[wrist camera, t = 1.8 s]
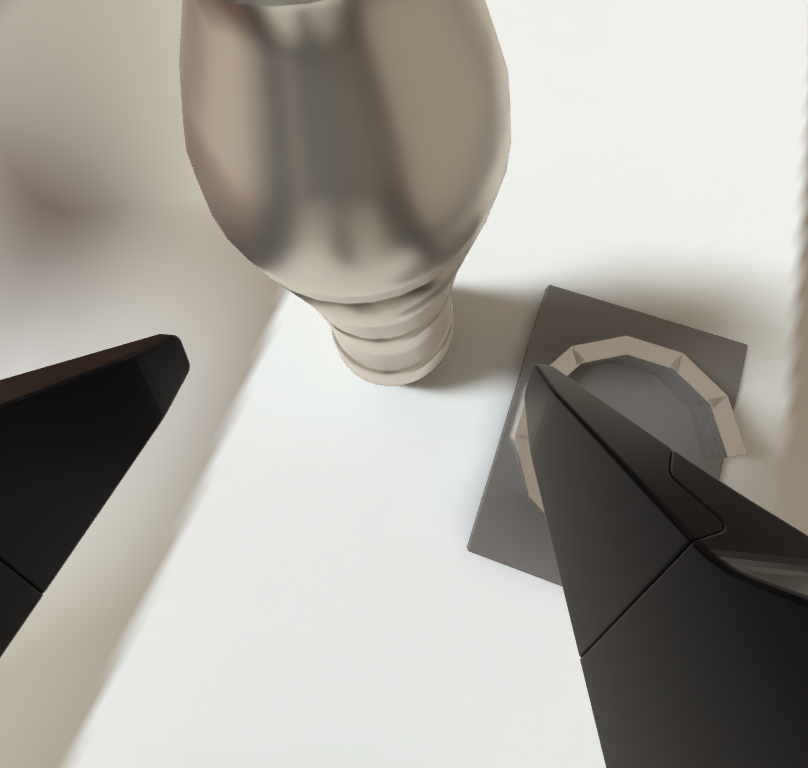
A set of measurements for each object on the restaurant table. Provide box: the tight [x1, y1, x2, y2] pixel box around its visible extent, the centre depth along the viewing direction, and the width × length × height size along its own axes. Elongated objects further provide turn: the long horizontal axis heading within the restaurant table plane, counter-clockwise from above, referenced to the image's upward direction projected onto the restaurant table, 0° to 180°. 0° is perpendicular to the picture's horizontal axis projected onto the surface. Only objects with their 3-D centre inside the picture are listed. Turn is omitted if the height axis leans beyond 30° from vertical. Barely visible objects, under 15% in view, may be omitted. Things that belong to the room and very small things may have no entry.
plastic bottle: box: [179, 0, 511, 386], centre depth 12 cm, size 6×7×20 cm
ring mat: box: [467, 285, 747, 586], centre depth 20 cm, size 16×12×1 cm
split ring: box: [507, 336, 747, 521], centre depth 19 cm, size 11×11×2 cm
